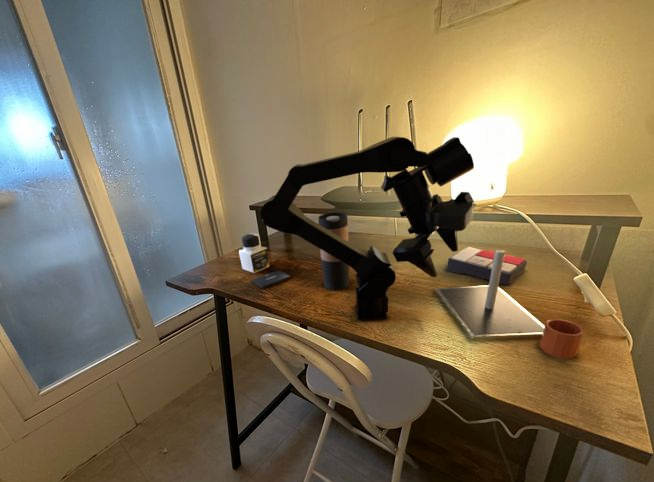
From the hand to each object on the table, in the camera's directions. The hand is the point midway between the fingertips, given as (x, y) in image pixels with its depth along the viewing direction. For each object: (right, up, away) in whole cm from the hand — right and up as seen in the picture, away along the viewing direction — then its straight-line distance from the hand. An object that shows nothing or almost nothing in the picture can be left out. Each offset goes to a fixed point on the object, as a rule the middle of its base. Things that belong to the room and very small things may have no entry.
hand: (445, 263), depth 64 cm
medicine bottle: (-43, +1, +43) cm, 61 cm away
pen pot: (+14, -16, -10) cm, 24 cm away
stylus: (+11, -9, +2) cm, 14 cm away
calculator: (+21, -1, +19) cm, 28 cm away
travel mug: (-18, -5, +23) cm, 30 cm away
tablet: (+10, -10, +2) cm, 15 cm away
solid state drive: (-38, -4, +32) cm, 49 cm away
